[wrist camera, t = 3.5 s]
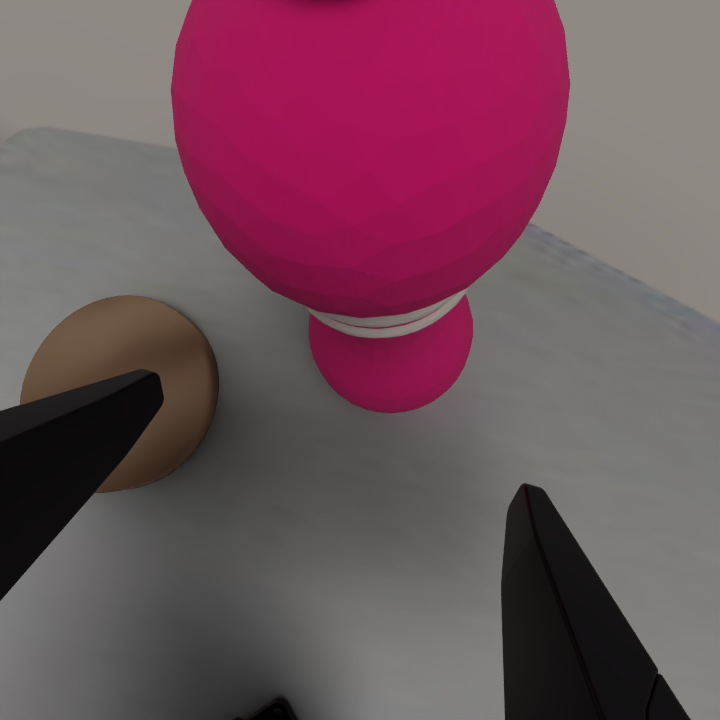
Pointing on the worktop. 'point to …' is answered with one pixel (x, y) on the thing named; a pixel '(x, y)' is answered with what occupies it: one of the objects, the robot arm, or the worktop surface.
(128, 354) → the walnut base
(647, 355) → the worktop surface
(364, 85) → the pepper mill
